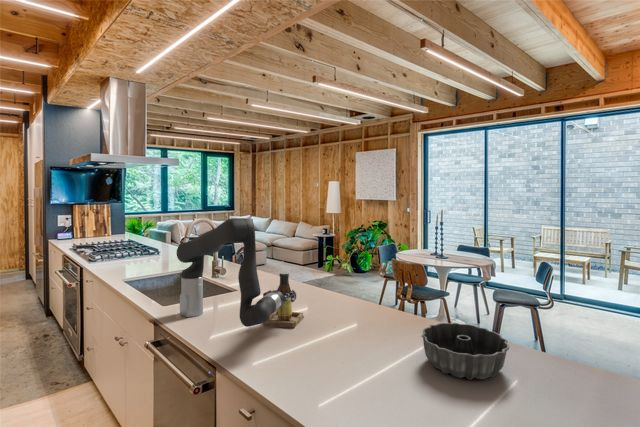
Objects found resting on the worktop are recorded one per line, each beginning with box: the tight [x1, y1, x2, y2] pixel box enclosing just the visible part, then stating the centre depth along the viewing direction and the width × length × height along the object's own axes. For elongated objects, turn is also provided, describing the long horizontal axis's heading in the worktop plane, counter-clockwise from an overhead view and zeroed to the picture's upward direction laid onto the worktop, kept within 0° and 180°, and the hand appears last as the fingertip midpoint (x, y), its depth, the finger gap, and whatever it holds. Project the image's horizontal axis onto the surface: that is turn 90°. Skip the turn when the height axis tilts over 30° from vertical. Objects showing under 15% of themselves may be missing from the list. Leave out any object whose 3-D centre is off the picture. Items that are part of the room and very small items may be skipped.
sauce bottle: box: [276, 271, 293, 320], centre depth 161 cm, size 6×6×20 cm
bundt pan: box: [421, 322, 510, 381], centre depth 120 cm, size 26×26×10 cm
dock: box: [262, 310, 305, 329], centre depth 162 cm, size 14×14×2 cm
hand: (286, 291), depth 163 cm, fingers closed on sauce bottle, 6 cm apart
